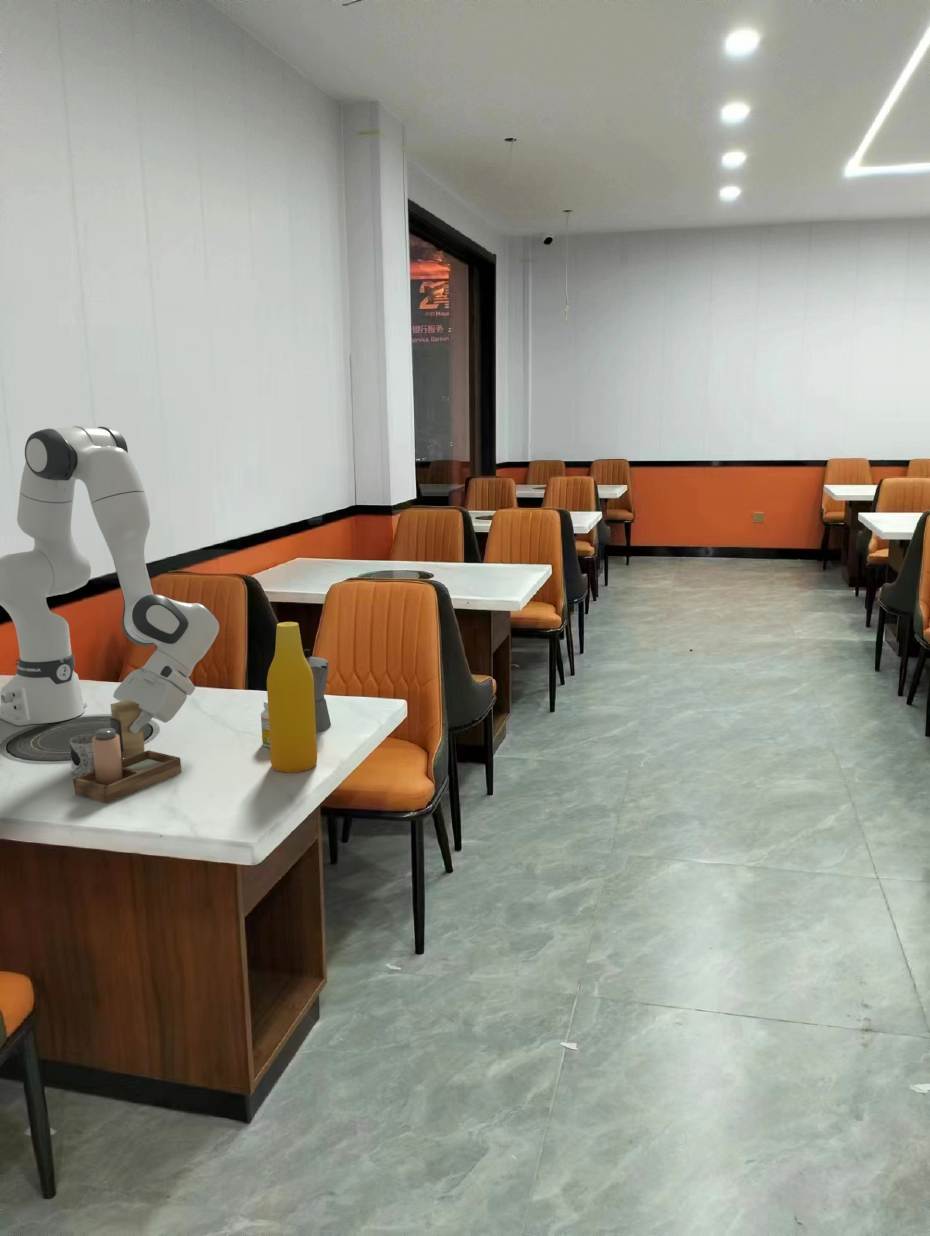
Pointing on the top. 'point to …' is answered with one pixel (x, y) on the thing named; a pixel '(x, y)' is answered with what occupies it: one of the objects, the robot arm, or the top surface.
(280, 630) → the beer bottle
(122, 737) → the oak block
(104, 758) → the terracotta shaker
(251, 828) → the top surface
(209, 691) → the top surface
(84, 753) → the mug
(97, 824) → the top surface
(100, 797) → the wooden tray
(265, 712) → the supplement bottle
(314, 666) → the coffeepot
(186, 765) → the top surface
